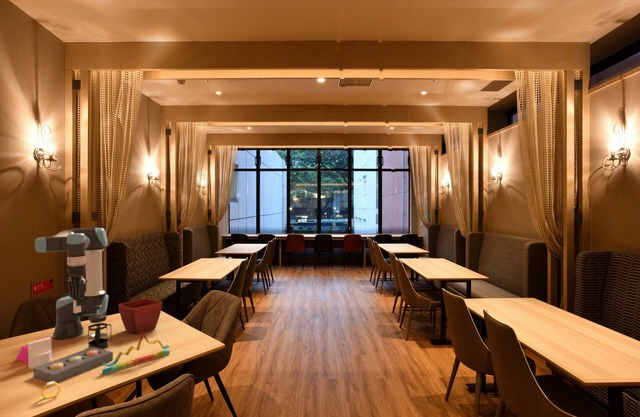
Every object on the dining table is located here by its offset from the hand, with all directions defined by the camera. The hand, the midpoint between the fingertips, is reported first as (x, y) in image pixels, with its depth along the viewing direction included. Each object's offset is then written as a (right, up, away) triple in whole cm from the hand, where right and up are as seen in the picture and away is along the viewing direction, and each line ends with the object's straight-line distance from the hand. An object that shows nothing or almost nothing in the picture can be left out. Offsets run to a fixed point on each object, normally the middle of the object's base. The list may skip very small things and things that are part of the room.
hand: (77, 312), depth 176 cm
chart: (+30, -26, 0) cm, 39 cm away
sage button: (+2, -24, -5) cm, 24 cm away
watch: (+11, -26, -31) cm, 42 cm away
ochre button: (-1, -24, -12) cm, 27 cm away
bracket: (-28, -26, +8) cm, 39 cm away
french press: (-2, -26, +21) cm, 33 cm away
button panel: (+2, -25, -5) cm, 26 cm away
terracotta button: (+6, -24, +2) cm, 24 cm away
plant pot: (+7, -25, +48) cm, 55 cm away
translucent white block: (-18, -26, -1) cm, 31 cm away
